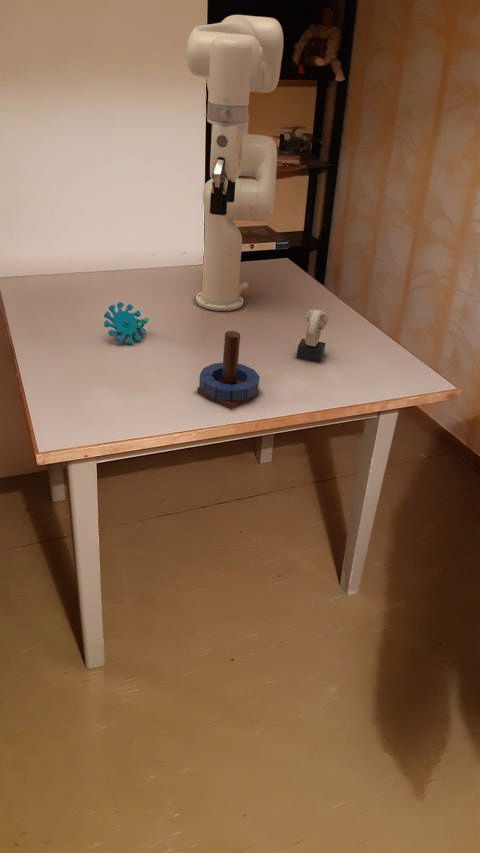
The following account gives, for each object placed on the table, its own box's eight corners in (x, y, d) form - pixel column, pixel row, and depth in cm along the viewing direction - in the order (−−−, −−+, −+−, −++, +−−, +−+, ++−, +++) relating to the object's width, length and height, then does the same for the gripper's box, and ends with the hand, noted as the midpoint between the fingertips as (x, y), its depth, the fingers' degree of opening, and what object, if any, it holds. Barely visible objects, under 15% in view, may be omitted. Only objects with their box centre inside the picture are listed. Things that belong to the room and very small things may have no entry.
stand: (225, 378, 141) (229, 320, 134) (259, 393, 137) (265, 334, 130) (197, 393, 135) (199, 333, 128) (231, 409, 131) (236, 348, 124)
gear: (111, 343, 148) (101, 301, 149) (101, 352, 153) (92, 312, 154) (155, 340, 154) (145, 300, 156) (145, 350, 159) (135, 311, 160)
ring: (226, 367, 143) (227, 357, 142) (269, 387, 137) (270, 376, 136) (188, 385, 135) (188, 374, 134) (232, 407, 129) (232, 396, 128)
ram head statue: (325, 351, 156) (332, 307, 150) (318, 366, 150) (325, 320, 144) (301, 347, 157) (307, 303, 151) (294, 361, 151) (300, 315, 145)
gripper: (240, 123, 116) (234, 222, 126) (253, 109, 131) (246, 198, 140) (198, 119, 117) (195, 217, 126) (216, 105, 131) (211, 194, 141)
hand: (222, 207), depth 133 cm, fingers open, 9 cm apart
